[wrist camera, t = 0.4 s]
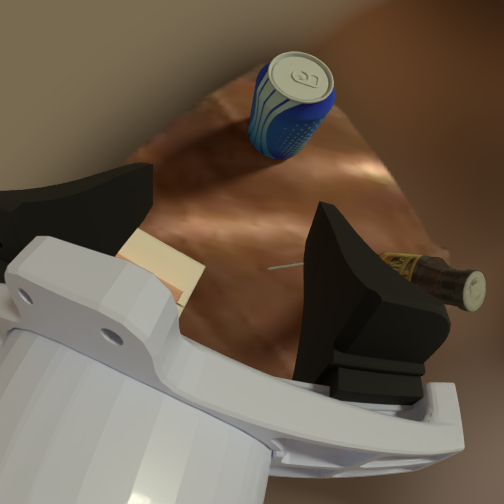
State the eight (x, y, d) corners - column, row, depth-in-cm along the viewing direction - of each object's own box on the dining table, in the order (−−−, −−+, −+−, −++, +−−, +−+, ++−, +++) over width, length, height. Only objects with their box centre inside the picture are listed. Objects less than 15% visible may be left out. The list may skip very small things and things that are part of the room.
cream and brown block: (185, 305, 38) (180, 310, 34) (108, 258, 37) (95, 259, 33) (205, 266, 39) (203, 268, 34) (126, 221, 38) (115, 217, 34)
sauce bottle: (367, 249, 41) (461, 246, 21) (400, 256, 41) (496, 257, 21) (361, 293, 40) (450, 319, 21) (394, 297, 41) (486, 320, 21)
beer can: (269, 172, 39) (294, 124, 24) (236, 127, 39) (241, 62, 23) (315, 144, 40) (358, 92, 24) (282, 102, 40) (307, 36, 24)
